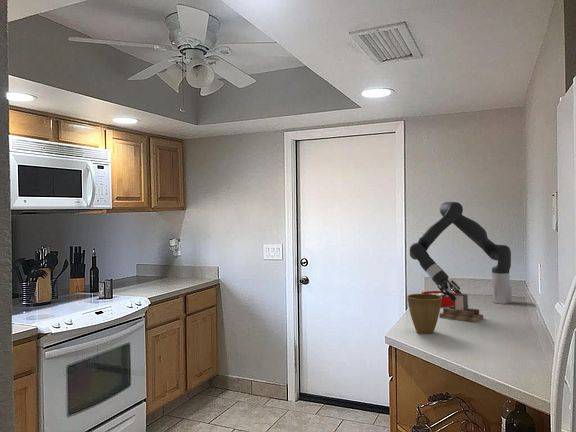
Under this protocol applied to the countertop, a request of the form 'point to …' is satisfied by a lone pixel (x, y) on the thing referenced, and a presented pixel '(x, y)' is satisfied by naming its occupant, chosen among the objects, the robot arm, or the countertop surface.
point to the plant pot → (424, 311)
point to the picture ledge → (461, 314)
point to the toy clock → (445, 299)
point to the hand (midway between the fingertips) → (458, 298)
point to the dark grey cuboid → (461, 302)
